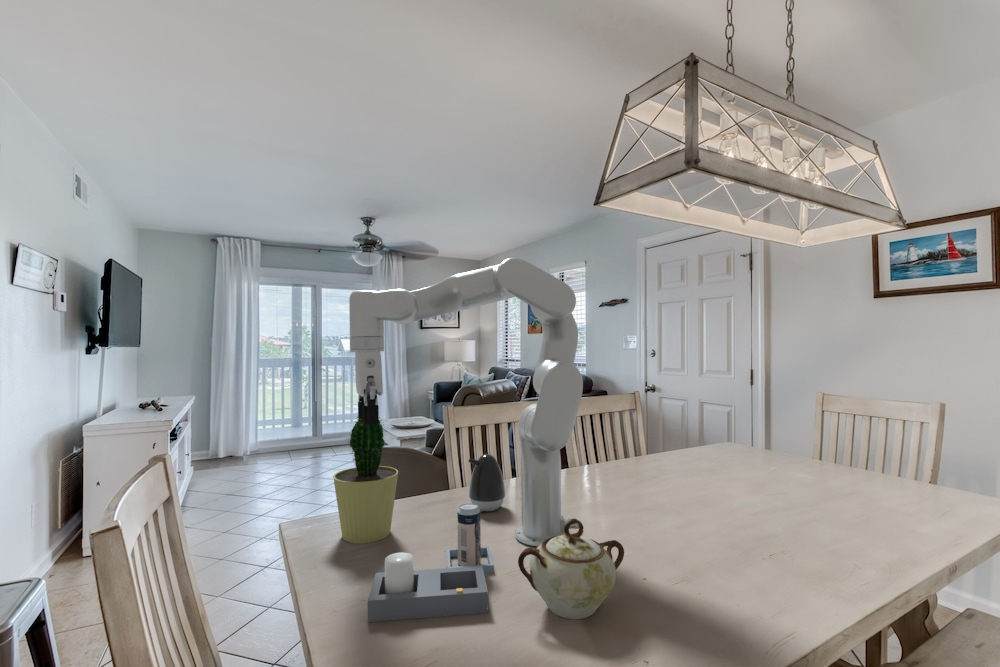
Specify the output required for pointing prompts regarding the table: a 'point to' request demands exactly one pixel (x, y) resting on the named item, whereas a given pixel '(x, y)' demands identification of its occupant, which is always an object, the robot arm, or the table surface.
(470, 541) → the beer can
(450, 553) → the hollow square frame
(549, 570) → the sugar bowl
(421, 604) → the two-slot holder block
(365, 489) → the potted cactus
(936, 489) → the table surface
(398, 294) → the robot arm
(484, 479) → the pump dispenser
